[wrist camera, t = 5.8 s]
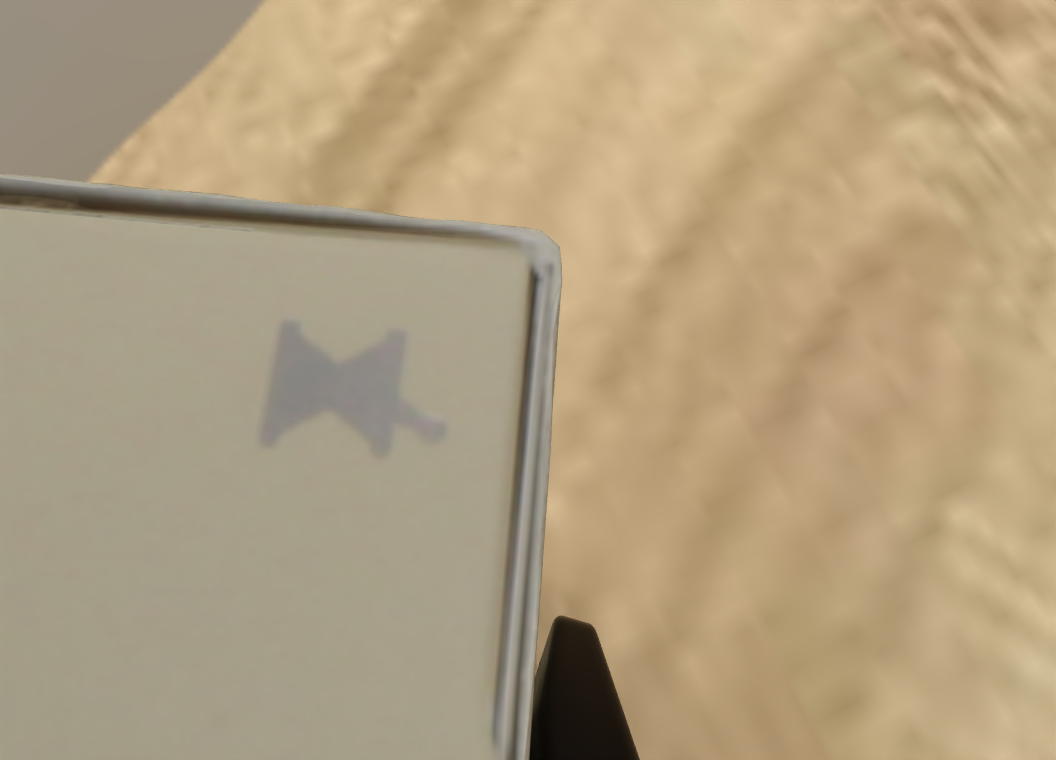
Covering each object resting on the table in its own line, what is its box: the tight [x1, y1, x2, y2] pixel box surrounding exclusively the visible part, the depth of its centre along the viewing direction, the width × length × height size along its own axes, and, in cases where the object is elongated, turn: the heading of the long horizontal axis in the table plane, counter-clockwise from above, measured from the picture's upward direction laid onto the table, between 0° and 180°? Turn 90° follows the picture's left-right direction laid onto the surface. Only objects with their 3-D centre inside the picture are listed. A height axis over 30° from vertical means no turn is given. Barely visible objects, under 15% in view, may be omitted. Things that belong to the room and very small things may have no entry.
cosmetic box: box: [0, 174, 562, 760], centre depth 8 cm, size 6×4×12 cm
